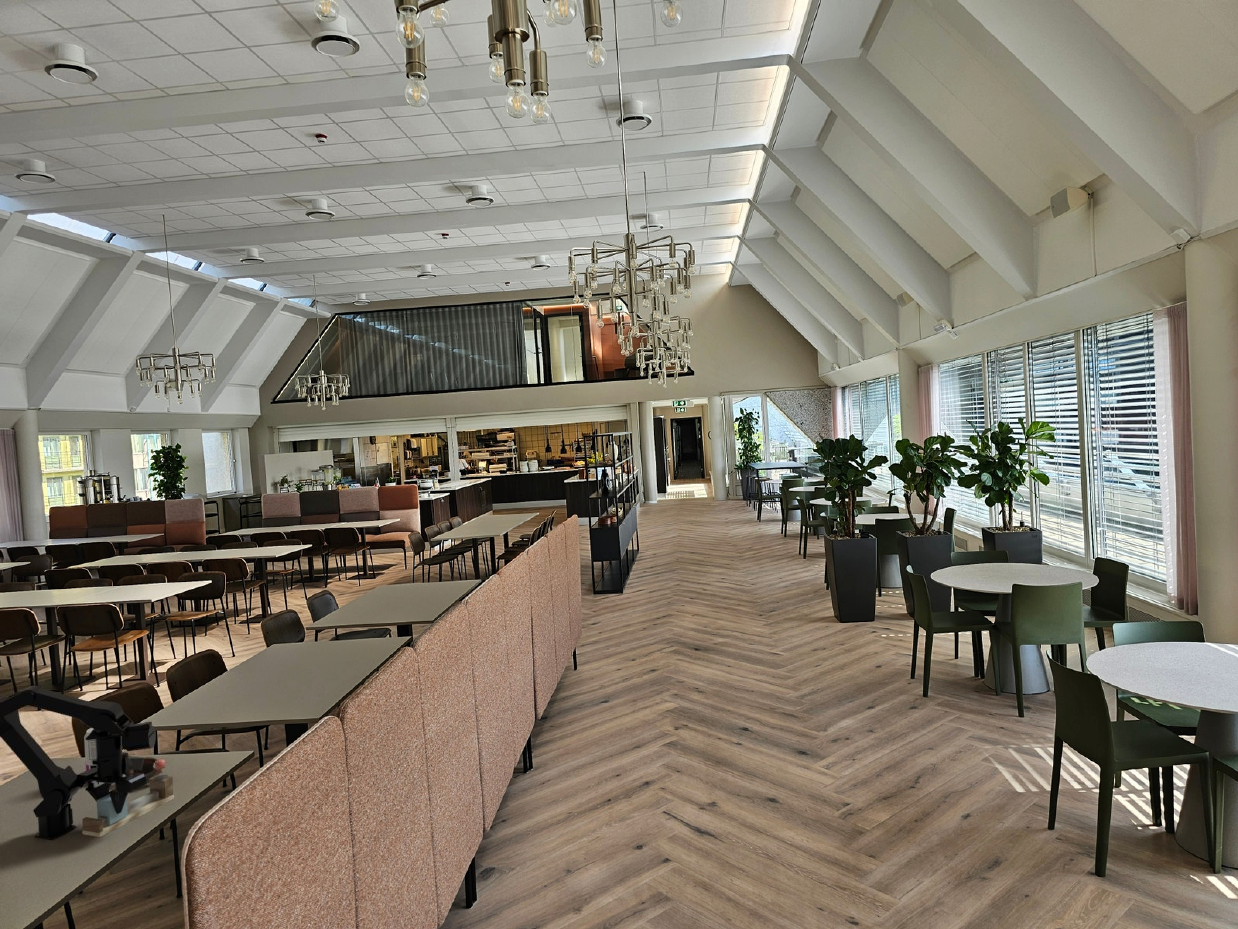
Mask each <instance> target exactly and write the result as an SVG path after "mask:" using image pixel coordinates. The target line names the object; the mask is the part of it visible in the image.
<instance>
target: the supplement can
mask: <svg viewBox="0 0 1238 929" xmlns="http://www.w3.org/2000/svg"><path fill="white" fill-rule="evenodd" d="M92 730H93V728H91V727H89V729H87V730H86V733H85V734H84V737H83V739H84V757H85V771H87V770H89V769H92V768H97V765H93V764H92V761H93V760H95V759H96V743H95V739H93V740H86V739H85V738H86V737H87V736H88V735H89V734H90V733H91V732H92Z"/></svg>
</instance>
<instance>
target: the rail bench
mask: <svg viewBox="0 0 1238 929" xmlns="http://www.w3.org/2000/svg"><path fill="white" fill-rule="evenodd" d="M148 784H149V792H148V793H146V794H144V795H143V796H141V797H138V798H136V799H134V800H132V801H130V802H127V811H128V816H126V817H124V818H122V819H121V820H119V821H117V822H115V823H113V824H111V825H108V819H107V817H105V816H102V817H100V818H98V817H97V818H96V817H95V818H94V817H89V816H88V817H84V818H82V819H81V820H82V835H85V836H92V837H97V838H102V837H103V836H105V835H107V834H109V833H110V832H113V831H114V830H116V829H119V828H120V827H122V826H124V825H126V824H128V823H130V822H131V821H133V820H135V819H137V818H139V817H141V816H143V815H144V814H147V813H149V812H151V811H152V810H155V809H157V808H158V807H160V806H162V805H164V804H166V803H167V802H169V801H171V800H173V799H175V795H174V779H173V776H169V775H168V774H159V775H156V776H154V777H152V778H150V779H149V782H148Z"/></svg>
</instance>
